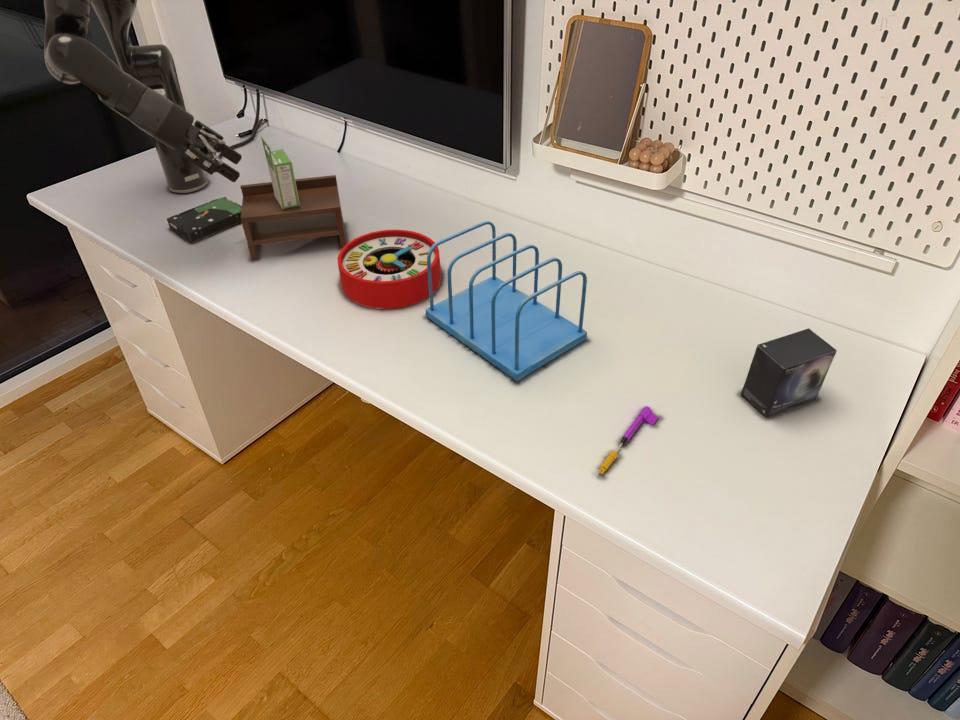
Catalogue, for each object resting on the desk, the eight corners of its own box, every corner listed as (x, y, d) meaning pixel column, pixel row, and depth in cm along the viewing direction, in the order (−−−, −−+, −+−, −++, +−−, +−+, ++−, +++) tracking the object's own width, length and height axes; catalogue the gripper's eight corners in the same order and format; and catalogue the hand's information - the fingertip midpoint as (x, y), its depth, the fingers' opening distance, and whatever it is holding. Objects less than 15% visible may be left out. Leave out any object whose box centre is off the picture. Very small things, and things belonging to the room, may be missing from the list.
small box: (766, 420, 108) (784, 369, 101) (738, 394, 112) (754, 343, 105) (818, 400, 111) (839, 350, 104) (789, 376, 115) (808, 326, 109)
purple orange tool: (643, 408, 110) (595, 472, 100) (646, 403, 109) (598, 468, 99) (658, 417, 109) (611, 483, 99) (661, 412, 108) (614, 478, 99)
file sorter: (587, 340, 124) (595, 267, 114) (516, 384, 115) (518, 309, 105) (494, 282, 138) (493, 213, 128) (425, 317, 130) (419, 246, 120)
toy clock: (316, 257, 136) (393, 219, 147) (321, 282, 140) (395, 243, 151) (383, 296, 125) (460, 252, 136) (386, 321, 129) (461, 277, 140)
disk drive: (192, 244, 152) (250, 219, 160) (188, 233, 150) (247, 208, 158) (169, 229, 158) (226, 205, 166) (165, 218, 156) (223, 194, 164)
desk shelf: (253, 234, 155) (240, 185, 147) (343, 224, 158) (335, 174, 150) (251, 260, 146) (238, 209, 139) (346, 248, 149) (338, 197, 142)
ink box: (301, 206, 143) (288, 143, 135) (282, 210, 142) (268, 147, 133) (292, 192, 148) (280, 131, 139) (274, 196, 147) (260, 135, 138)
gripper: (166, 116, 123) (248, 170, 132) (175, 89, 134) (250, 141, 143) (145, 148, 126) (226, 198, 135) (155, 119, 136) (230, 168, 145)
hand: (238, 169), depth 139 cm, fingers open, 8 cm apart
